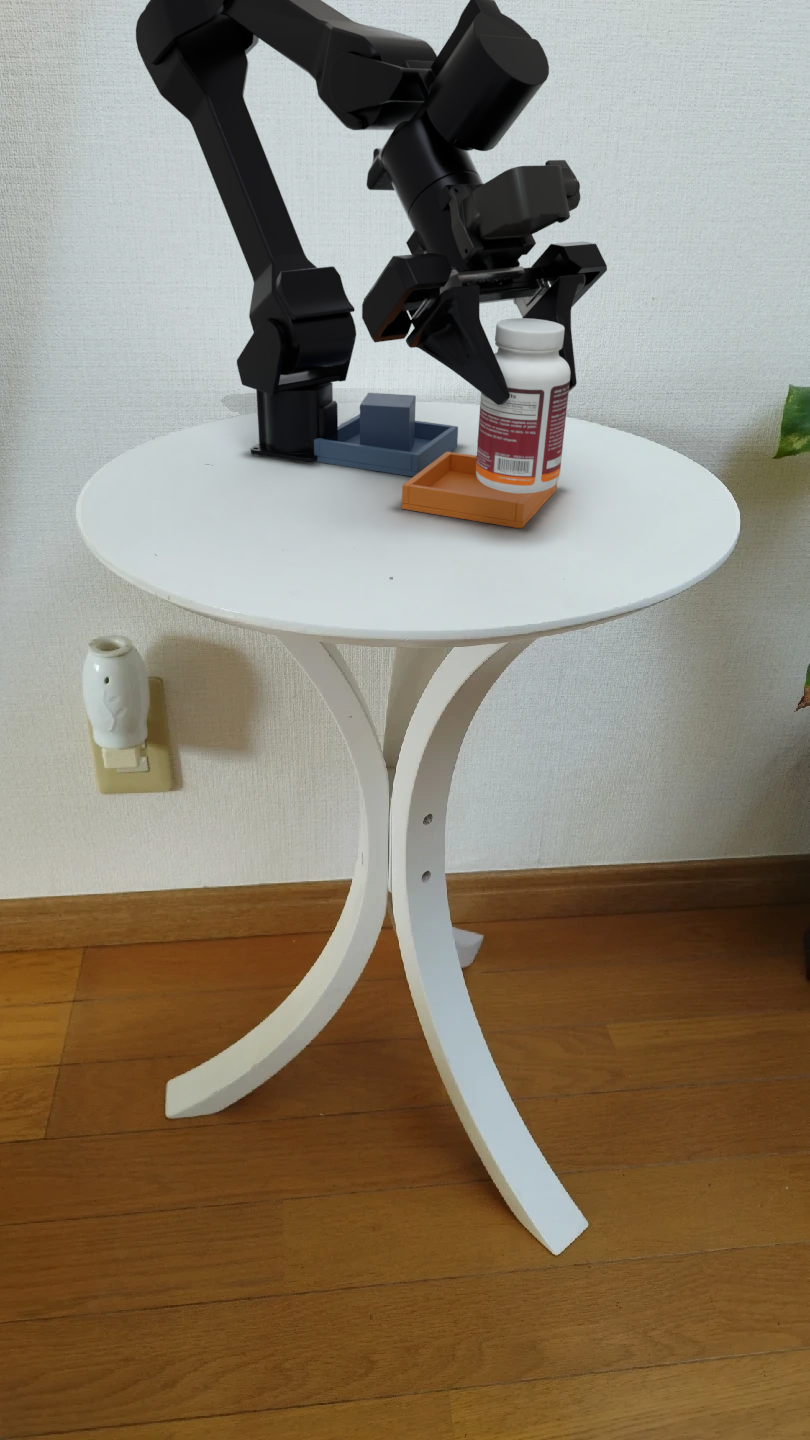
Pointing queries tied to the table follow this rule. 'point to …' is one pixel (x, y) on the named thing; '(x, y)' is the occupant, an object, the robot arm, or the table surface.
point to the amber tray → (468, 494)
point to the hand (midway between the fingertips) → (538, 395)
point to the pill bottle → (525, 409)
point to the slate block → (388, 421)
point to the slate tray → (350, 453)
